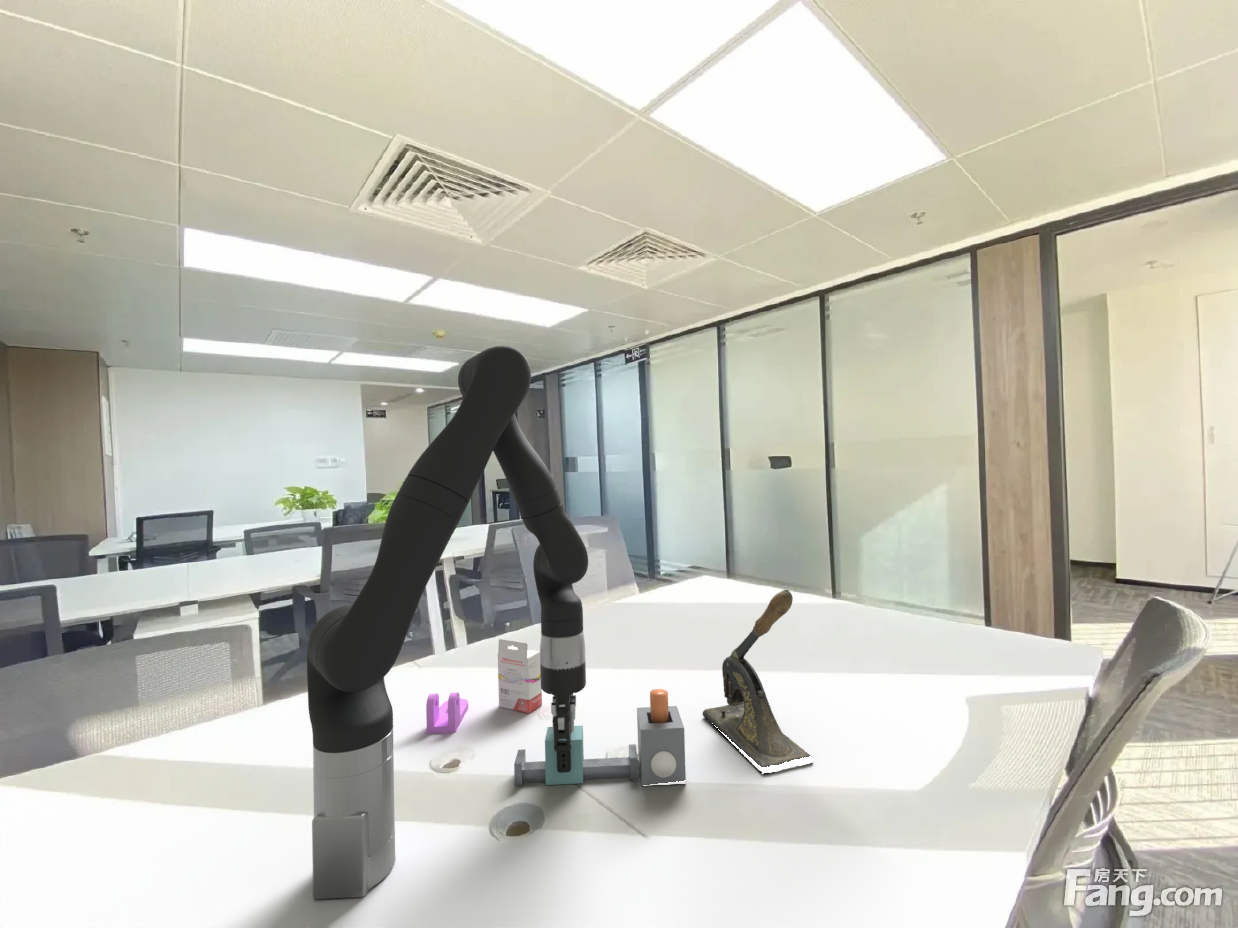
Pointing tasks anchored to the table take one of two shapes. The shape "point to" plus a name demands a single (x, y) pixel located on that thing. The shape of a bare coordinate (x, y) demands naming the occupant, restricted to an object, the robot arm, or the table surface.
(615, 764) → the rail
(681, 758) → the cabinet
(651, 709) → the gauge button
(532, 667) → the ink cartridge box
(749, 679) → the embossing press
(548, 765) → the block
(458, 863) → the table surface
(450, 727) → the bracket
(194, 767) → the table surface
